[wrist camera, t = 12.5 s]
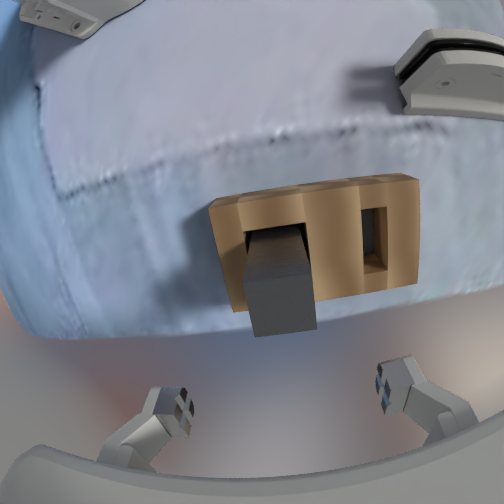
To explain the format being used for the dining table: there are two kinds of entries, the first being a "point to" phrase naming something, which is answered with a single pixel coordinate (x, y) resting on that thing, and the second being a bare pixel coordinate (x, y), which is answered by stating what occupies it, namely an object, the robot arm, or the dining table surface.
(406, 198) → the socket block
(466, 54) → the grey piece
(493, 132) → the dining table surface
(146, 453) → the robot arm
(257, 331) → the steel peg
